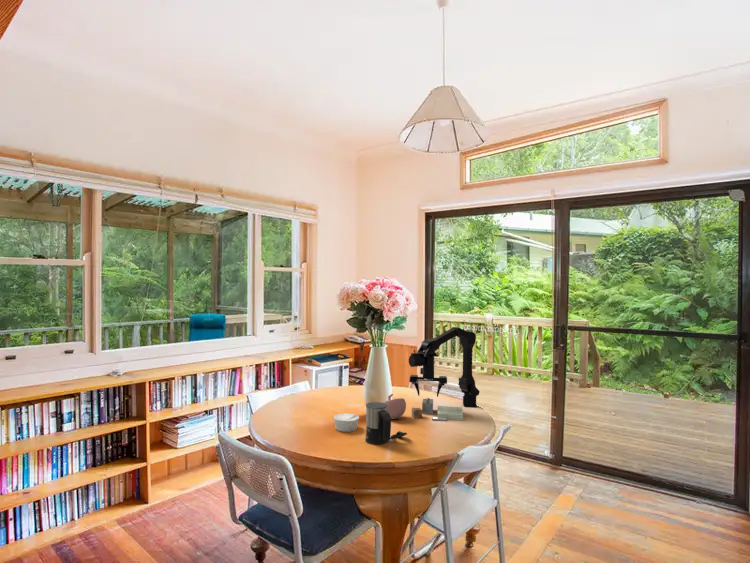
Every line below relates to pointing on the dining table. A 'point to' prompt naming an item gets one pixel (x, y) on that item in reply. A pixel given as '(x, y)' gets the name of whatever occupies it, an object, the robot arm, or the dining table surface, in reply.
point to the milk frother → (379, 424)
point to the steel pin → (439, 419)
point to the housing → (427, 406)
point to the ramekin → (346, 422)
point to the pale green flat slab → (450, 412)
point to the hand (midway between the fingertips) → (428, 396)
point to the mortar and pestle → (395, 407)
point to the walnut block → (416, 413)
